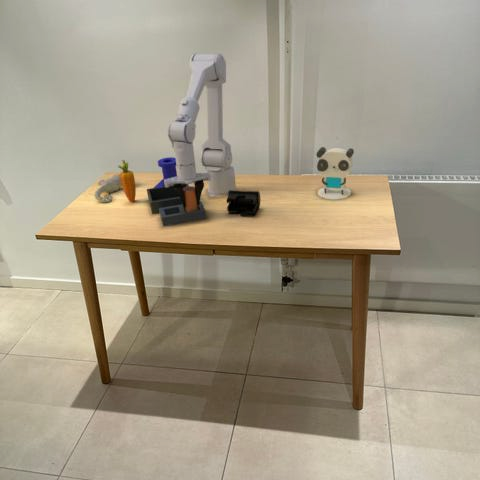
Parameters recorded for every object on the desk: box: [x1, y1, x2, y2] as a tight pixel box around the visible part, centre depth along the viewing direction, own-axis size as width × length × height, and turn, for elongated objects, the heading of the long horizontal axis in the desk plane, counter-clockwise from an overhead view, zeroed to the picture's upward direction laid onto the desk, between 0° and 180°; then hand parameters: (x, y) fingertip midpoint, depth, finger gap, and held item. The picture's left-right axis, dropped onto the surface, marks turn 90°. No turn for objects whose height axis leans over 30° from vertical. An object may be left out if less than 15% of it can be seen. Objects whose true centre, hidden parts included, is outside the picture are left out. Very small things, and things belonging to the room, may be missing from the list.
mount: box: [153, 156, 178, 188], centre depth 176 cm, size 15×8×9 cm, turn 164°
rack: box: [158, 200, 207, 227], centre depth 152 cm, size 8×14×4 cm, turn 105°
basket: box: [146, 184, 190, 215], centre depth 162 cm, size 15×13×5 cm
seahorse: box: [94, 173, 136, 203], centre depth 174 cm, size 5×12×20 cm
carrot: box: [117, 159, 137, 203], centre depth 162 cm, size 5×5×15 cm
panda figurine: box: [315, 146, 355, 201], centre depth 158 cm, size 12×11×15 cm
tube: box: [183, 185, 198, 212], centre depth 150 cm, size 4×4×8 cm
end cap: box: [226, 189, 261, 218], centre depth 153 cm, size 10×7×7 cm
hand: (191, 204), depth 151 cm, fingers closed on tube, 4 cm apart
